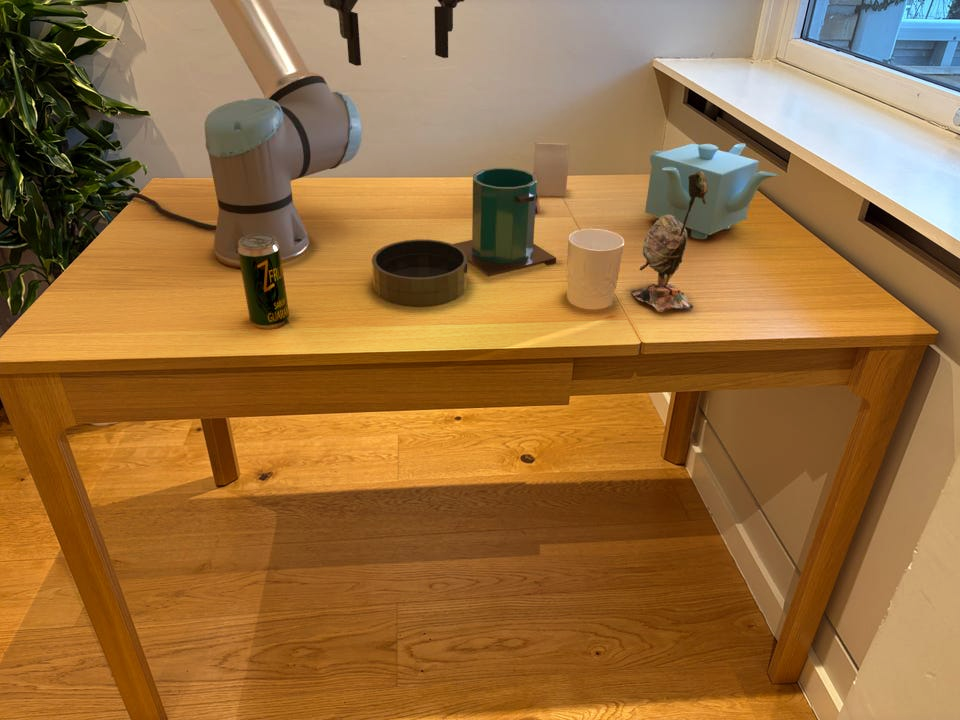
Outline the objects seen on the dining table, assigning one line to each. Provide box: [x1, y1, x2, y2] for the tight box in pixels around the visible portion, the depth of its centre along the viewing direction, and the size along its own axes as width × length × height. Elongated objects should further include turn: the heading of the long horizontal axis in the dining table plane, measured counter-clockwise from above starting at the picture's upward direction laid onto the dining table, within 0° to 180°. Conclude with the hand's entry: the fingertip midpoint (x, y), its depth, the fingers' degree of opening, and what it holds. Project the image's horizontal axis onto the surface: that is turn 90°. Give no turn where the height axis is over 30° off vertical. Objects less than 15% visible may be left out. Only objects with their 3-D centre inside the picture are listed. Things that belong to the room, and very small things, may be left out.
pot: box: [471, 167, 537, 264], centre depth 117 cm, size 13×10×12 cm
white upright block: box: [532, 142, 570, 198], centre depth 145 cm, size 4×7×10 cm, turn 86°
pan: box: [371, 238, 469, 308], centre depth 109 cm, size 14×14×5 cm
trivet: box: [452, 239, 557, 278], centre depth 120 cm, size 13×13×1 cm
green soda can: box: [238, 234, 290, 330], centre depth 98 cm, size 5×5×12 cm
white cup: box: [566, 228, 625, 310], centre depth 105 cm, size 8×8×10 cm
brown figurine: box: [630, 171, 708, 313], centre depth 104 cm, size 8×11×20 cm
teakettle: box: [644, 142, 778, 240], centre depth 130 cm, size 19×19×15 cm
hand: (399, 60), depth 103 cm, fingers open, 13 cm apart
